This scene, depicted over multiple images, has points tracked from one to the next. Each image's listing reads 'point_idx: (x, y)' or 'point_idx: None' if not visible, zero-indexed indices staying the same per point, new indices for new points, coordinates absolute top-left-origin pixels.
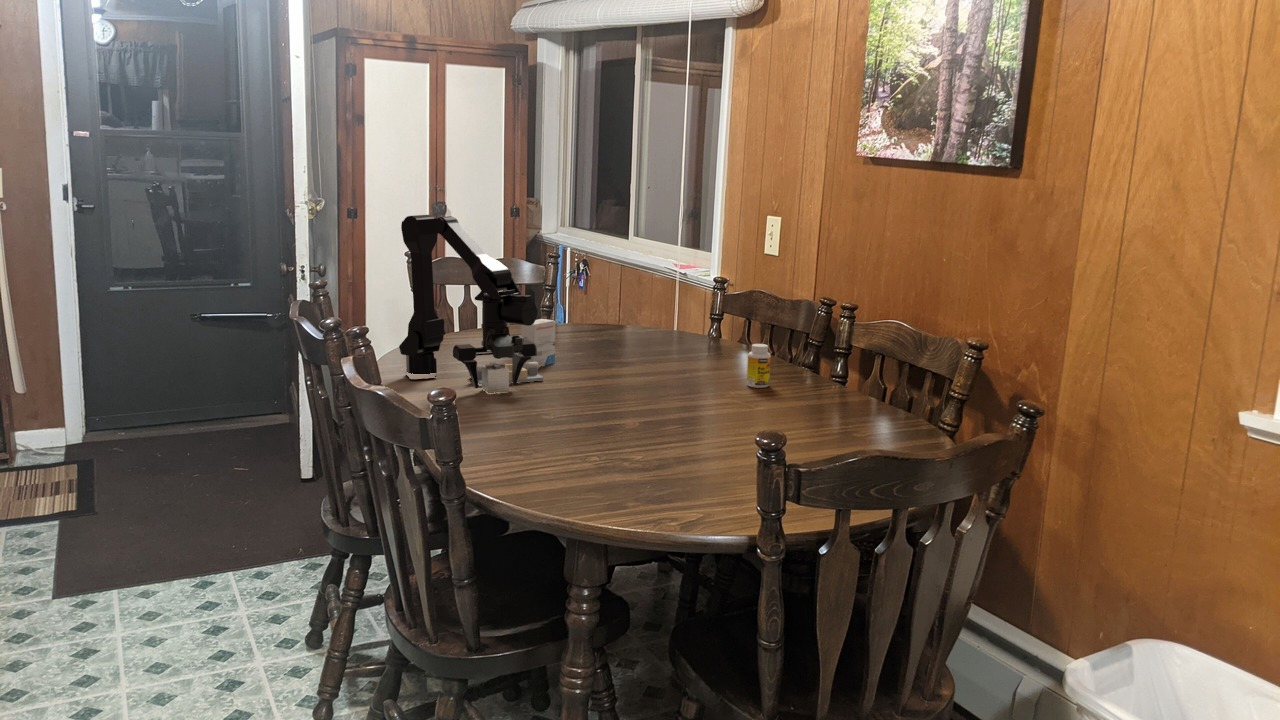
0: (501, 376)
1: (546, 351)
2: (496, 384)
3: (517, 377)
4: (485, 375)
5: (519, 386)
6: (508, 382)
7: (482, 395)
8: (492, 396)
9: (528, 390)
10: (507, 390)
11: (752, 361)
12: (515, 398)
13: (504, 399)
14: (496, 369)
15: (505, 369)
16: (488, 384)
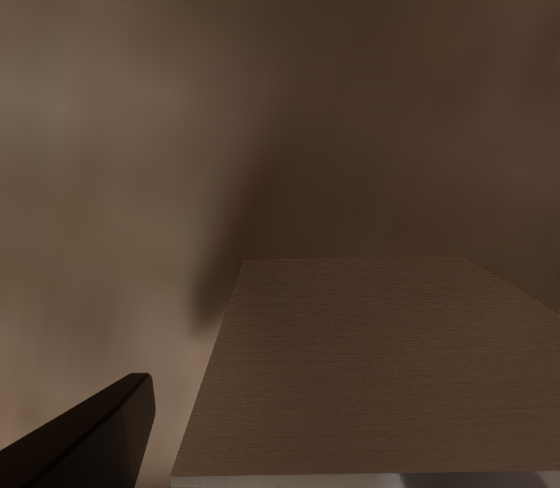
0: (356, 351)
1: None
2: (407, 295)
3: (64, 419)
4: None
5: None
6: (234, 306)
7: (518, 261)
8: (442, 189)
9: (29, 309)
10: (256, 270)
11: None
12: (234, 13)
13: (368, 9)
14: (547, 470)
15: (274, 456)
16: (526, 298)
